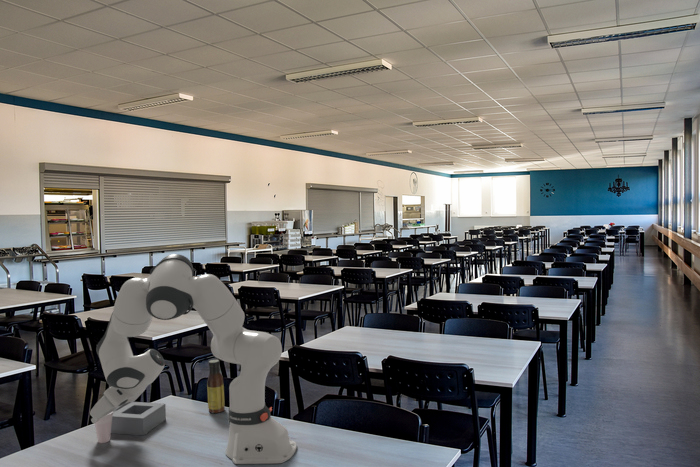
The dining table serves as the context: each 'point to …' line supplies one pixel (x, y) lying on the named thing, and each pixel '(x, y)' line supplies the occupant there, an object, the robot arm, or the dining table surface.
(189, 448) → the dining table surface
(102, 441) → the smoothie
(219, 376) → the sauce bottle
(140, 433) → the box
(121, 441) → the dining table surface
